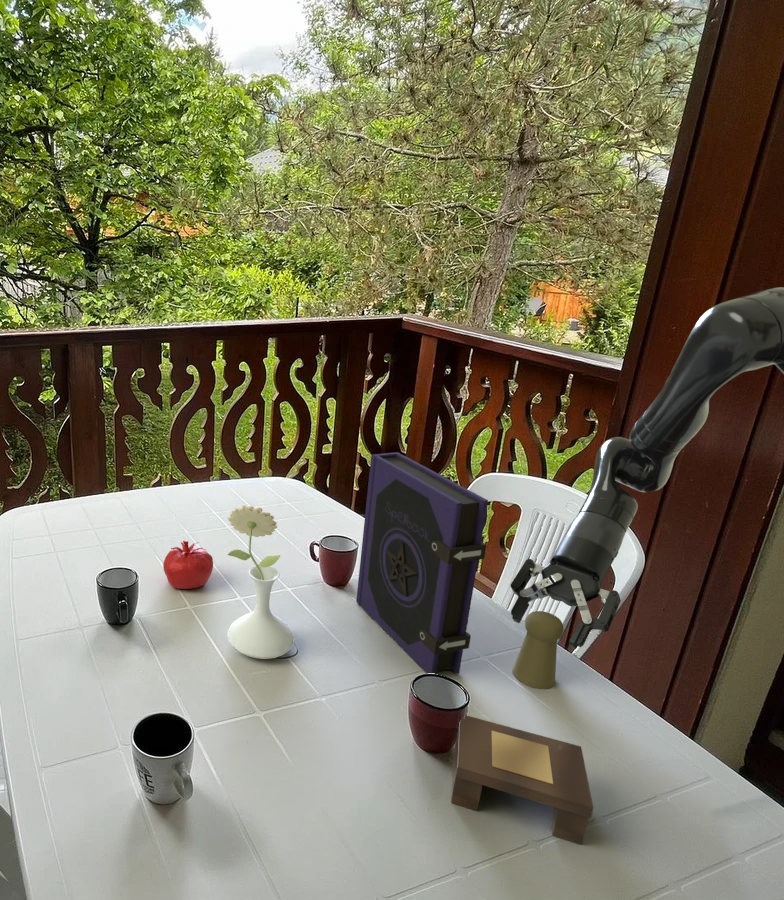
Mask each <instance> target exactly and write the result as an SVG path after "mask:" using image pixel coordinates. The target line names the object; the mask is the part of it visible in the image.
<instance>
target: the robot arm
mask: <svg viewBox="0 0 784 900" xmlns="http://www.w3.org/2000/svg"><path fill="white" fill-rule="evenodd" d="M771 365H774V366H775V367H776V368H777V369H778V370H779V371H780V372H781V374H783V375H784V287H783V286H782V287H781V286H779V287H771V288H767V289H764V290H763V289H762V290H759V291H756V292H752V293H749V294H746V295H742V296H739V297H736V298H732V299H728V300H726V301H723V302H720V303H718V304H716V305H714V306H712V307H710V308H708V309H706V311H705V312H704V313H703V314H702V315H700V317H699V319H698V320H697V321H696V323H695V325H694V326H693V328H692V329H691V331H690V333H689V335H688V337H687V339H686V341H685V343H684V345H683V347H682V349H681V351H680V354H679V356H678V358H677V360H676V362H675V364H674V365H673V368H672V369H671V371H670V374H669V376H668V377H667V379H666V381H665V382H664V385H663V386H662V389H661V390H660V391H659V393H658V394H657V396H656V397H655V399H654V400H653V402H652V403H651V404H650V405H649V406H648V407H647V409H646V410H645V411H644V412H643V413H642V415H640V417H639V418H638V420H637V421H636V422H635V423H634V425H633V426H632V428H631V430H630V432H629V434H628V435H629V436H628V437H629V438H626V437H624V436H614V437H610V438H609V439H606V440H605V441H604V442H603V443H602V444H601V446H599V448H598V450H597V453H596V455H595V460H594V465H593V473H592V480H591V485H590V488H589V491H588V493H587V496H586V498H585V499H584V500H585V501H584V502H583V504H582V506H581V507H580V509H579V511H578V513H577V514H576V516H575V517H574V518H573V520H572V521H571V523H570V524H569V526H568V528H567V529H566V531H565V533H564V535H563V537H562V539H561V541H560V542H559V544H558V546H557V548H556V550H555V552H554V553H553V555H552V558H551V559H550V561H549V563H548V564H547V565H546V566H543V565H540V564H538V563H535V562H534V560H533V559H532V558H527V559H526V560H525V561H524V562H523V564H522V566H521V568H520V569H519V571H518V572H517V573H516V575H515V576H514V578H513V580H512V581H511V583H510V588H511V590H512V592H513V594H514V595H515V596H517V599H516V600H515V602H514V604H513V606H512V608H511V610H510V615H511V616H512V620H513V622H515V623H516V624H520V623H521V621H522V620H523V618H524V616H525V614H526V612H527V611H528V608H529V607H530V603H531V602H533V601H536V600H539V599H544V598H547V597H550V598H551V599H552V600H554V601H558V602H562V603H563V604H565V605H567V606H569V607H571V608H572V607H577V608H578V610H579V613H580V616H581V620H582V621H581V622H580V621H579V622H578V624H577V625H576V627H575V629H574V631H573V633H572V635H571V637H570V638H569V641H568V645H569V647H570V648H571V649H574V650H576V649H577V648H578V647H579V648H582V647H583V646H584V645H585V643H586V641H587V639H588V637H589V635H590V633H591V631H594V630H599V631H602V632H609V630H610V628H611V625H612V623H613V622H614V621H613V620H614V618H615V617H616V616H615V615H616V613H617V611H618V610H619V609H618V608H619V607H620V604H621V601H622V600H621V597H620V593H619V592H618V591H617V590H615V589H612V590H607V589H603V588H601V586H602V584H603V582H604V579H605V578H606V576H607V574H608V572H609V570H610V568H611V566H612V564H613V562H614V560H615V559H616V558H617V556H618V555H619V551H620V549H621V547H622V545H623V542H624V538H625V535H626V534H627V531H628V529H629V527H630V525H631V523H632V521H633V520H634V518H635V516H636V514H637V511H638V510H639V509H638V507H639V503H638V502H637V500H636V499H635V497H633V496H632V494H630V493H628V491H626V490H624V489H623V488H622V487H621V486H619V485H618V483H620V484H622V485H624V486H626V487H629V488H631V489H633V490H635V491H638V492H641V493H654V492H656V491H659V490H661V489H662V488H663V487H664V486H665V485H666V484H667V482H668V481H669V479H670V477H671V474H672V471H673V468H674V463H675V461H676V458H677V456H678V455H679V453H680V452H681V451H682V450H683V449H684V448H685V446H687V444H688V443H689V442H690V441H691V440H692V439H693V438H694V437H695V436H696V435H697V434H698V433H699V431H700V430H701V429H702V427H703V426H704V425H705V423H706V421H707V418H708V416H709V411H710V399H711V398H712V396H713V395H714V394H715V393H716V392H717V391H718V390H719V389H721V388H722V387H723V386H724V385H725V384H727V383H728V382H729V381H731V380H732V379H734V378H735V377H738V376H739V375H740V374H742V373H745V372H751V371H755V370H759V369H763V368H765V367H769V366H771ZM538 575H541V577H542V579H541V580H539V581H536V582H535V583H532V585H530V586H529V587H526V586H527V584H528V583H529V582H530V580H531V579H532V578H536V577H537V576H538ZM599 597H600V598H601V604H603V606H602V609H601V611H600V614H599V616H598V618H595V617H592V614H591V612H590V609H589V605H588V602H591V601H592V600H594V599H596V598H599Z"/></svg>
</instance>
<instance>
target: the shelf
mask: <svg viewBox="0 0 784 900" xmlns="http://www.w3.org/2000/svg"><path fill="white" fill-rule="evenodd" d="M465 715H466V717H465V719H462V720H460V722H459V721H458V723H459V727H458V726H457V730H458V732H457V731H456V736H457V738H456V737H455V741H454V742H455V743H454V749H453V757H452V758H453V759H452V774H451V776H452V777H451V794H450V803H451V804H453V805H456V806H460V807H464V808H466V809H470V810H473V811H475V812H478V809H479V804H480V799H481V795H482V790H483V786H485V787H487V788H491V789H494V790H497V791H500V792H504V793H506V794H511V795H514V796H518V797H520V798H522V799H523V798H524V799H526V800H527V799H528V800H530V801H533V802H537V803H540V804H543V805H547V806H548V810H549V818H550V826H551V834H552V836H553V837H556V838H559V839H562V840H565V841H569V842H572V843H575V844H577V845H581V846H582V845H583V843H584V838H585V834H586V830H587V827H588V824H589V819H591V818H592V814H593V812H594V805H593V799H592V794H591V789H590V783H589V779H588V775H587V769H586V765H585V764H586V763H585V758H584V753H583V748H582V746H581V745H577V744H573V743H569V742H567V741H563V740H559V739H555V738H551V737H547V736H544V735H541V734H537V733H533V732H530V731H525V730H522V729H518V728H515V727H510V726H507V725H504V724H500V723H496V722H492V721H488V720H484V719H481V718H478V717H474V716H470V715H467V714H465Z"/></svg>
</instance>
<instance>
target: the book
mask: <svg viewBox="0 0 784 900" xmlns="http://www.w3.org/2000/svg"><path fill="white" fill-rule="evenodd" d="M367 483H368V485H367V495H366V503H365V512H364V522H363V523H364V524H363V533H362V534H363V535H362V541H361V543H362V544H361V552H360V560H359V561H360V562H359V571H358V580H357V591H356V598H355V599H356V600H355V602H356V603H357V604H358V605H359V606H360V607H361V609H362V610H363V611H364V612H365V613H366V614H367V615H368V616H369V617H371V619H372V620H373V621H375V622H376V624H377V625H378V626H379V627H381V628H382V630H384V632H385V633H386V634H387V635H388V636H389V637H390V638H391V639H392V640H393V641H394V642H395V643H396V644H397V645H398V646H399V647H400V648H401V649H402V650H403V651H404V652H405V653H406V654H407V655H408V656H409V657H410V658H411V659H412V660H413V662H415V663H416V664H417V665H418V667H420V668H421V669H422V670H423V671H424V672H425V673H426V674H427V673H436V674H437V672H439V671H443V670H449V669H450V670H451V671H452V672H453V673H455V675H457V674H460V672H461V671H460V670H461V664H462V659H463V652H464V650H467V649H469V648H470V643H471V637H472V635H471V634H470V633H468V632H467V629H468V623H469V618H470V617H469V616H470V611H471V604H472V599H473V592H474V586H475V581H476V575H477V569H478V563H479V560H484V559H485V556H486V549H487V544H486V543H485V542H483V541H482V539H483V533H484V527H485V521H486V515H487V510H488V504H489V500H488V499H486V498H484V497H483V496H481V495H479V494H477V493H475V492H474V491H472V490H469V489H468V488H466V487H464V486H463V485H460V484H458V483H457V482H455V481H453V480H451V479H449V478H447V477H446V476H444V475H442V474H440V473H438V472H436V471H434V470H432V469H431V468H428V467H427V466H425V465H423V464H420V462H419V463H418V462H417V461H415V460H413V459H412V458H409V457H408V456H405V455H404V454H401V453H400V452H388V453H386V452H385V453H375V454H371V456H370V465H369V475H368V482H367Z"/></svg>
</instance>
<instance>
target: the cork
mask: <svg viewBox="0 0 784 900" xmlns="http://www.w3.org/2000/svg"><path fill="white" fill-rule="evenodd" d="M524 628H525V630H526V634H525V636H524V639H523V642H522V644H521V646H520V649H519V652H518V654H517V657H516V659H515V662H514V664H513V667H512V675H513V676H514V677H515V679H516V680H518V681H519V682H521V683H522V684H524V685H526V686H528V687H531V688H535V689H541V690H547V689H551V688H553V687H554V686H555V684H556V671H557V669H556V668H557V648H558V641H559V640H560V639H561V637H562V636H563V634H564V629H565V628H564V625H563V621H562V620H561V619H560V618H559V617H558V616H556V615H555V614H553V613H550V612H548V611H543V610H535V611H532V612H530V613H528V615H527V616H526V618H525V621H524Z"/></svg>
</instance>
